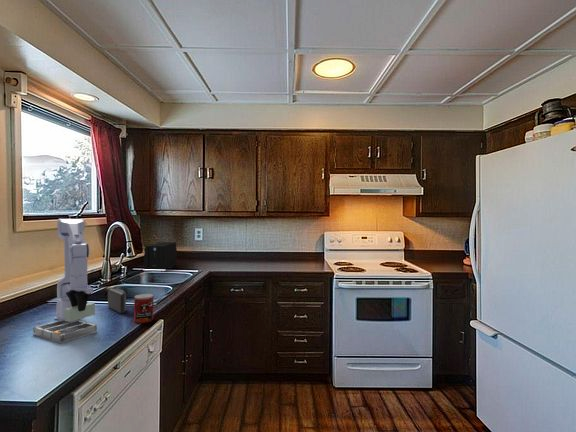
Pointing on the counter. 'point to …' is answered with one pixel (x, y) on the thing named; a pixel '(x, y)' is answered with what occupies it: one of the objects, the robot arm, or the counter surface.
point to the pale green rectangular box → (79, 312)
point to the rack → (64, 330)
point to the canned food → (143, 308)
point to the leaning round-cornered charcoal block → (117, 300)
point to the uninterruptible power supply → (160, 255)
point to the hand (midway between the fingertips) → (78, 310)
